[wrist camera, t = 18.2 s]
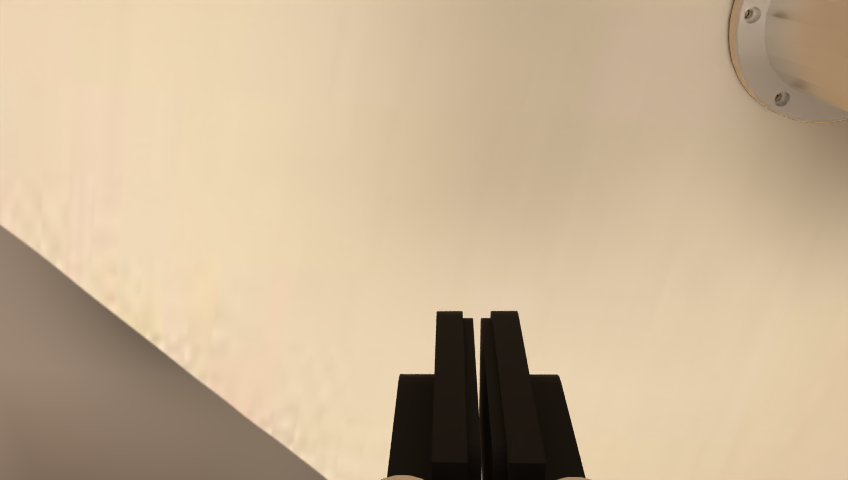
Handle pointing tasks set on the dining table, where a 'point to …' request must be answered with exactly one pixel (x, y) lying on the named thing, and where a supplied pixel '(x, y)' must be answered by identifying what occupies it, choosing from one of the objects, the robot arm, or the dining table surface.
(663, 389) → the dining table surface
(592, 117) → the dining table surface
